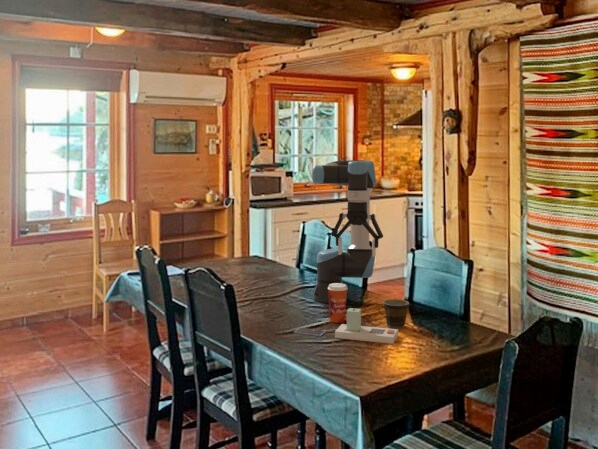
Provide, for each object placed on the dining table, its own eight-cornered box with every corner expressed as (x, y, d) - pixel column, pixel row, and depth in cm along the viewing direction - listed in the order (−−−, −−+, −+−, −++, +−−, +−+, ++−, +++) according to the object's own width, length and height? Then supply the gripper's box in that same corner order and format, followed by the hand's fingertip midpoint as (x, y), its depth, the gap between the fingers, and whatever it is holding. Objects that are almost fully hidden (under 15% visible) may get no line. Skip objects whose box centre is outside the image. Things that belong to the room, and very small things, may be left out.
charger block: (349, 333, 241) (349, 307, 240) (360, 334, 240) (361, 308, 239) (346, 337, 237) (346, 310, 236) (358, 338, 236) (358, 311, 234)
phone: (299, 330, 248) (299, 327, 248) (326, 333, 243) (326, 330, 243) (293, 334, 242) (293, 331, 242) (320, 337, 238) (320, 335, 238)
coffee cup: (330, 324, 253) (330, 287, 251) (325, 318, 261) (325, 283, 259) (350, 323, 255) (350, 286, 253) (344, 317, 263) (345, 282, 261)
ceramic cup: (400, 322, 256) (400, 298, 255) (413, 329, 247) (413, 304, 245) (371, 325, 251) (372, 301, 250) (384, 332, 242) (384, 307, 241)
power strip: (341, 330, 245) (341, 322, 245) (398, 335, 238) (398, 327, 238) (334, 337, 236) (334, 329, 236) (393, 343, 229) (393, 335, 229)
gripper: (323, 201, 245) (323, 254, 247) (387, 203, 237) (386, 258, 239) (329, 199, 252) (328, 251, 254) (391, 201, 244) (390, 255, 246)
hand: (356, 255), depth 247 cm, fingers open, 13 cm apart
